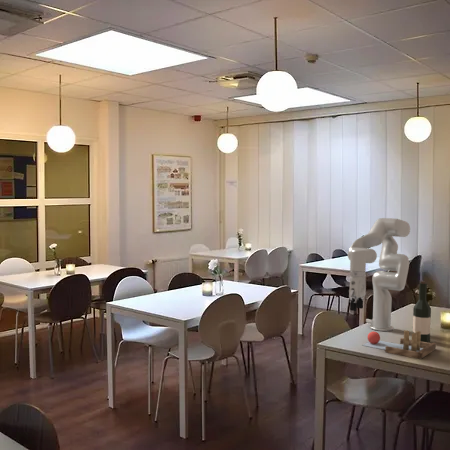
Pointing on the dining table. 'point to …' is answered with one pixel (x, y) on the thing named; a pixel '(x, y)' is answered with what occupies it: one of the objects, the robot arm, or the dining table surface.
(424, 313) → the wine bottle
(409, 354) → the wooden tray
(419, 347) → the pin
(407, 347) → the front pin
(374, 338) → the ball
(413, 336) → the pin
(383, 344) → the lane strip
